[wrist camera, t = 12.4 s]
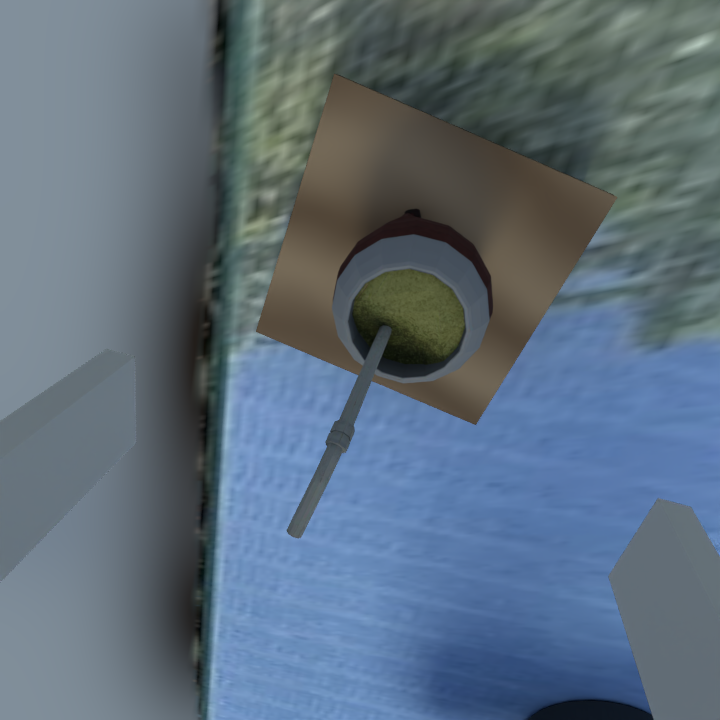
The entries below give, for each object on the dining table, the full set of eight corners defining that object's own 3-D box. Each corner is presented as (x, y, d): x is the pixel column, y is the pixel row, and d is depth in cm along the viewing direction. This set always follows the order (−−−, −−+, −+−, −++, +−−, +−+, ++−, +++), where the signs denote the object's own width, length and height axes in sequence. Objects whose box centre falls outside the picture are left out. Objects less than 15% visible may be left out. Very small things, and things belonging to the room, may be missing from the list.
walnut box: (473, 377, 36) (475, 425, 31) (285, 297, 36) (255, 331, 31) (589, 179, 29) (617, 197, 24) (357, 78, 29) (334, 73, 24)
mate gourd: (481, 189, 25) (504, 293, 12) (492, 335, 28) (520, 541, 15) (336, 212, 27) (216, 325, 14) (363, 347, 30) (287, 540, 17)
